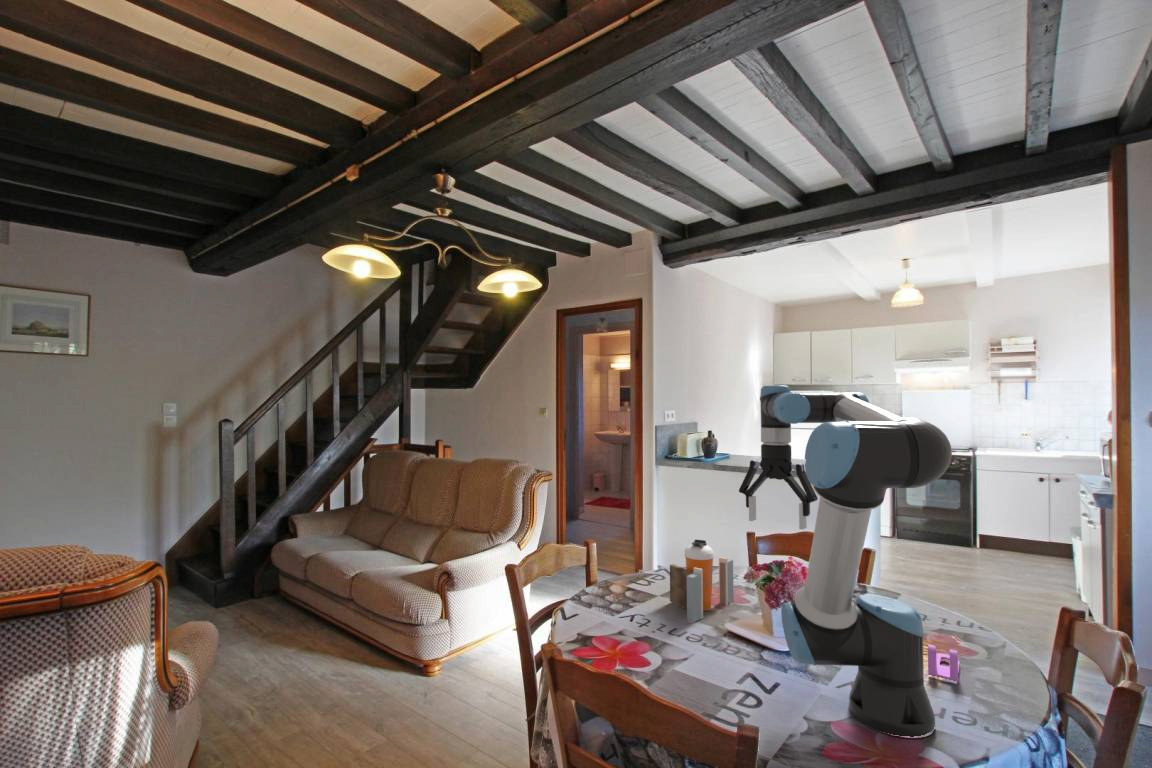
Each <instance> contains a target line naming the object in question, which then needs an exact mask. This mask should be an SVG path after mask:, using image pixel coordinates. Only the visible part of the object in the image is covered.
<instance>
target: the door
mask: <svg viewBox="0 0 1152 768" xmlns="http://www.w3.org/2000/svg"><path fill="white" fill-rule="evenodd" d="M693 573H694V572H692V571H689V570H687V569H686V568H684V567H681V566H679V565H676V564H674V563H672V564H669V602H670V603H672V604H675V605H677V606H679V607H681V608H683V609H685V610H687V576H688V575H691V574H693Z"/></svg>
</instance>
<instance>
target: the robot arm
mask: <svg viewBox="0 0 1152 768" xmlns="http://www.w3.org/2000/svg"><path fill="white" fill-rule="evenodd" d="M759 401H760V442H761V443H762V444H761V446H760V457H761V460H758V459H751V460H750V461H749V467H748V470H747V472H746V474H745V477H744V479H743V480H742V482H741V484H740V486H739V489H738V492H739V493H740V494H743V495H745V507H746V508H747V509H748V522H753V521H756V520H757V495H754V494H755V493H756V491H757V490H759V488H760V487H761V486H762V485H763V484H764V482H765V481H766V480H767V479H768V480H769V479H770V480H771V479H772V480H773V479H774V480H780V481H781V480H783V481H785V482H786V483H787V485H788V486H789V487H790V488H791V489H792V491H793V492H794V494H795V495H796V496H797V497H798V498H799V501H800V502H799V503H798V515H799V516H798V522H799V523H798V524H799V527H798V528H799V530H804V529H807V527H808V526H807V517H809V516H810V514H811V503H813V502H814V503H815V502H816V501H818V499H819V502H818V506H817V507H818V508H817V512H816V513H817V515H816V519H815V526H814V532H813V537H812V542H811V547H810V548H811V549H810V554H809V560H808V567H807V571H806V572H807V573H806V577H805V584H804V585H803V586H801V587H800V588H799V589H798V590H797V591H796V592H795V594H794V595H795V596H794V600H793V602H792V601H787V602H783V603H782V605H781V608H780V610H781V611H780V612H781V615H780V616H781V623H782V628H783V634H784V638H785V641H786V644H787V647H788V651H789V652H790V655H791V657H792V658H793V660H795V661H796V662H797V663H799V664H804V665H806V664H807V665H812V666H843V667H845V666H847V667H848V666H849V667H850V666H852V667H853V666H854V667H857V674H856V676H855V678H854V681H853V685H852V687H851V688H850V689H851V690H850V692H849V698H848V699H849V701H848V702H849V706H848V707H849V711H850V713H851V714H852V716H854V718H856V720H858V721H859V722H860V723H861V724H864V725H865V726H867V727H868V728H870V727H871V729H872V728H873V729H872V730H874V729H875V730H874V731H876V730H878V731H877V732H879V731H881V732H885V733H889V734H893V735H899V736H910V737H914V736H921V735H925V734H927V733H929V732H931V731H932V730H933V729H934V727H935V728H936V716H935V715H936V714H935V712H934V710H933V706H932V704H931V701H930V698H929V696H928V693H927V691H926V687H925V677H924V671H925V670H924V668H925V667H924V636H925V633H924V629H923V628H924V627H923V621H922V620H923V619H922V615H921V614H920V612H919V611H917V610H916V608H914V607H913V606H911V605H910V604H908V603H905V602H903V601H901V600H898V599H895V598H891V597H888V596H884V595H881V594H876V593H875V594H873V593H862V594H858V595H857V597H856V599H855V602H856V603H854V602H853V597H854V591H855V587H856V582H857V578H858V574H859V569H860V564H861V561H862V560H861V559H862V555H863V550H864V547H865V546H864V545H865V540H866V537H867V532H868V528H869V522H870V518H871V514H872V510H873V509H874V510H875V509H877V508H878V507H880V506H881V505H883V502H884V499H885V495H886V492H887V490H888V489H915V488H921V487H924V486H927V485H930V484H932V483H933V482H936V481H937V480H938V479H940V478H941V477H942V476H943V475H944V474H945V473H946V471H947V470H948V469H949V467H950V464H951V462H952V457H953V452H952V445H951V441H949V439H948V437H947V435H946V434H945V433H944V432H943V430H941V429H940V427H938V426H936V425H935V424H932V423H930V422H928V421H926V420H922V419H921V418H917V417H901V416H900V415H897V414H895V413H892V412H891V411H888V410H886V409H883V408H881V407H878V406H876V405H874V404H871V403H870V401H869V399H868V398H867V396H866V395H865V394H864V393H862V392H854V391H845V392H844V391H843V392H842V391H841V392H798V391H797V392H796V391H791V388H790V386H789V385H781V384H779V385H763V386H762V387H760V397H759ZM791 424H792V425H793V424H794V425H797V424H819V425H817V426H816V427H815V428H814V429H813V431H812V432H811V433H810V435H809V437H808V439H807V443H806V447H805V451H804V460H805V463H798V464H797V463H792V445H791V444H790V443H791V442H792V425H791ZM759 468H760V469H761V470H762V471H761V473H760V474H759V476H758V477H757V478H756V480H755V481H754V482H753V483H752V481H753V480H754V477H755V475H756V473H757V472H758V469H759ZM793 470H794V473H796V475H797V477H798V478H797V479H798V480H799V482H800V484H801V486H802V487H801V486H800V484H799V482H797V480H796V479H795V476H793V475H792V473H791V471H793ZM751 483H752V484H751ZM817 495H818V496H819V498H818V496H817ZM881 732H880V733H881Z"/></svg>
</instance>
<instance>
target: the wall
mask: <svg viewBox="0 0 1152 768" xmlns="http://www.w3.org/2000/svg"><path fill="white" fill-rule="evenodd" d="M732 602H734V559H731V558H726V557H723V556H719V557H718V603H719V604H721V605H725V606H728V605H729V604H730V603H732ZM703 619H704V611H703V569H700V568H696V567H695V568H694V573H693V574H691V575H688V576H687V609H686V621H687V622H688V623H691V624H694V623H696V622H697V621H699V620H703Z"/></svg>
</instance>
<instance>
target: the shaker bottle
mask: <svg viewBox="0 0 1152 768" xmlns="http://www.w3.org/2000/svg"><path fill="white" fill-rule="evenodd" d="M714 556H715V551H714V549H712V547H711V546H709V541H708V540H704V539H694V540H693V542H692V543H691V544H689V545H687V546H686V548H685V549H684V557H685V569H687V570H689V571H692V572H694V568H695V567H696V568H700V569H703V612H704V611H708V610H710V609H711V607H712V593H713V568H714V565H713V564H714Z"/></svg>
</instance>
